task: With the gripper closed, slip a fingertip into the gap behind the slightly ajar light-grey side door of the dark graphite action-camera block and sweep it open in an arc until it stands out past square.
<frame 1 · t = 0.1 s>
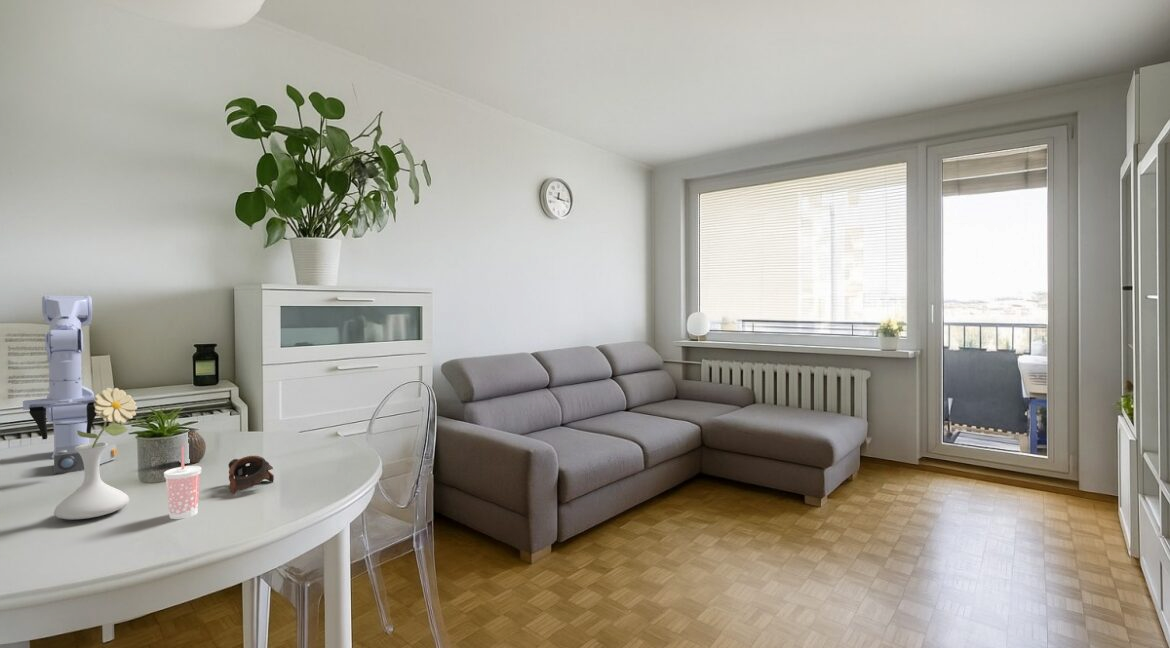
hand: (67, 436, 133), 10 cm above the table, tool pointing down, fingers open, 7 cm apart
flower in vase: (98, 513, 112), on the table
beverage cup: (183, 515, 111), on the table
side door: (104, 455, 145), point 2 cm above the table, hinge at 35.0°
camera body: (72, 467, 142), on the table
brown curved piece: (249, 488, 128), on the table
brown ribbed ovoid: (190, 463, 147), on the table
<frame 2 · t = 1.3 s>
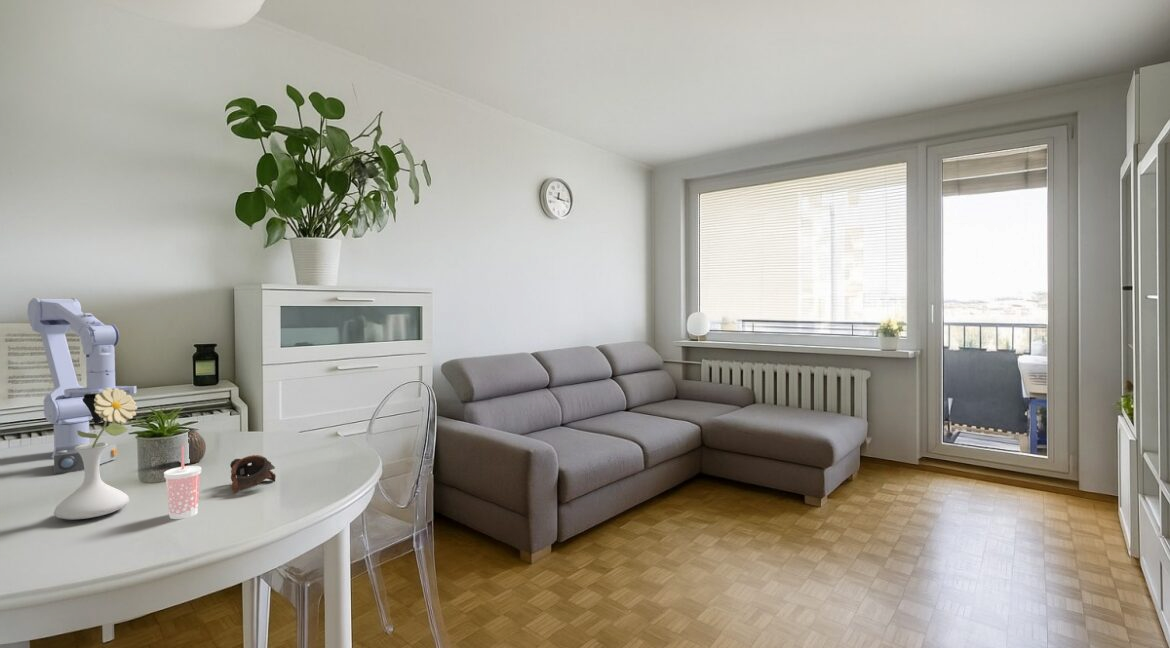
hand: (102, 422, 147), 10 cm above the table, tool pointing down, fingers closed
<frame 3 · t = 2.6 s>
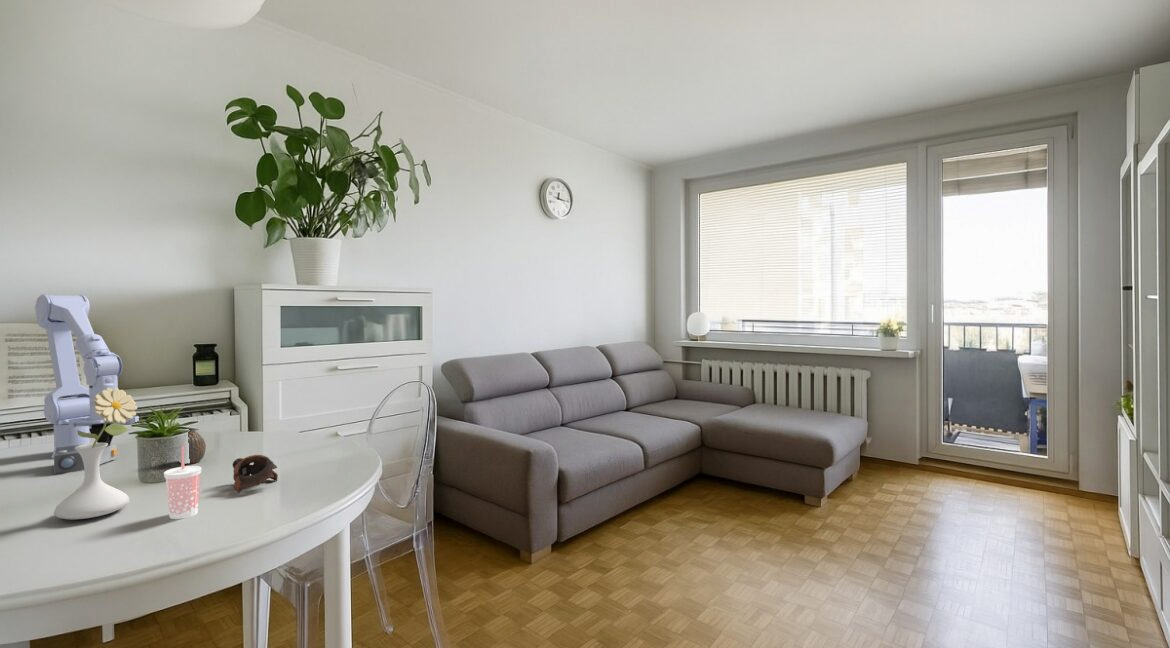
hand: (105, 452, 147), 2 cm above the table, tool pointing down, fingers closed, pressing on side door
side door: (104, 455, 145), point 2 cm above the table, hinge at 35.6°, touching gripper
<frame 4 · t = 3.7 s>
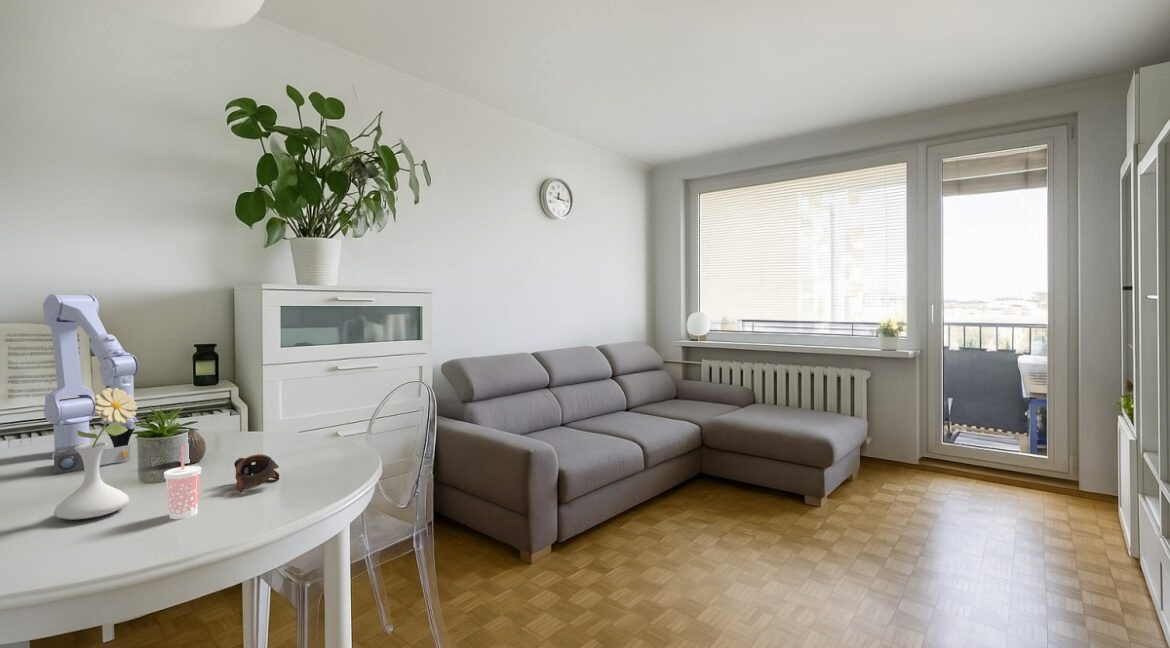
hand: (121, 452, 147), 2 cm above the table, tool pointing down, fingers closed, pressing on side door
side door: (110, 456, 144), point 2 cm above the table, hinge at 72.3°, touching gripper
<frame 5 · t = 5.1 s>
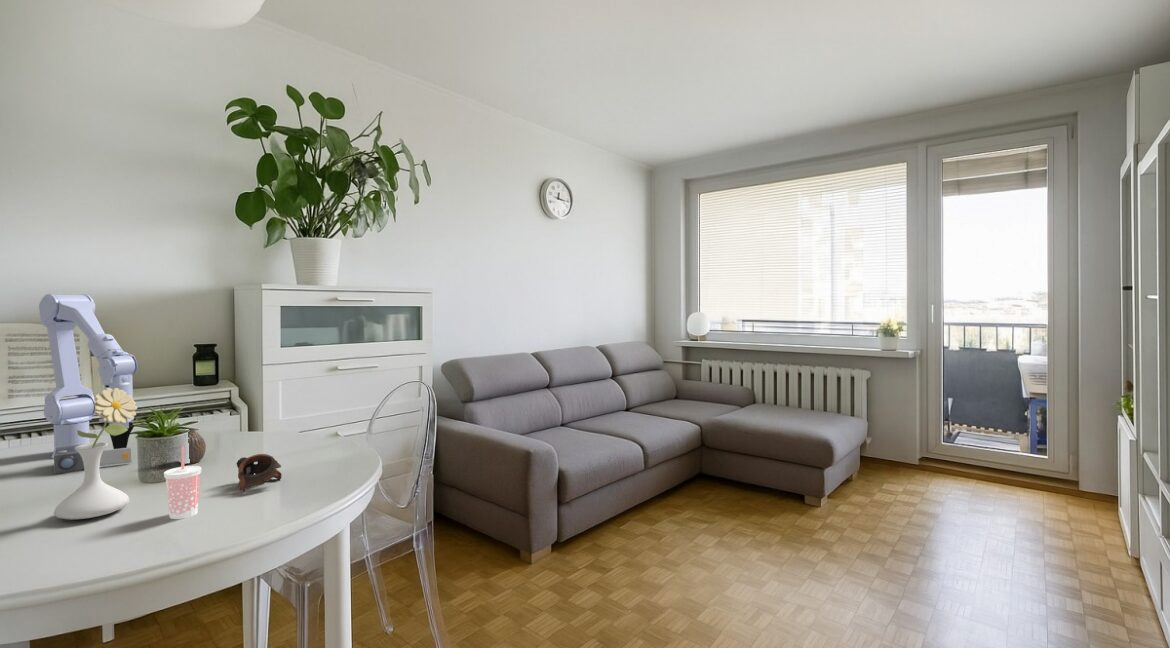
hand: (120, 451, 148), 2 cm above the table, tool pointing down, fingers closed
side door: (110, 457, 143), point 2 cm above the table, hinge at 97.5°
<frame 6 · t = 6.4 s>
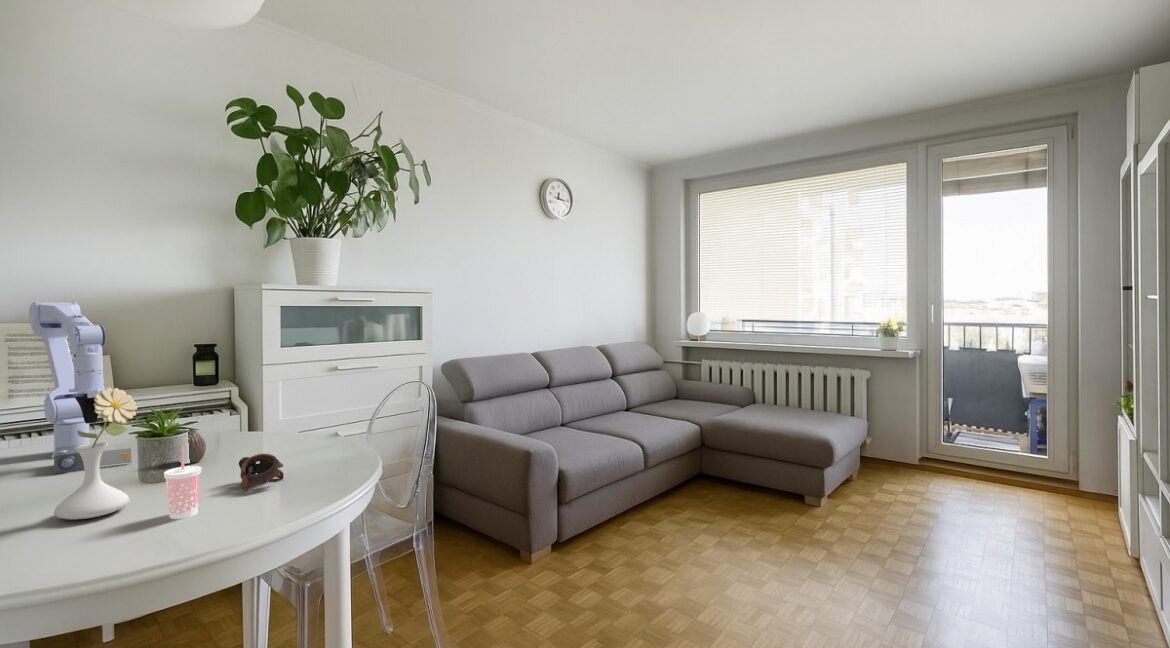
hand: (90, 422, 146), 10 cm above the table, tool pointing down, fingers closed
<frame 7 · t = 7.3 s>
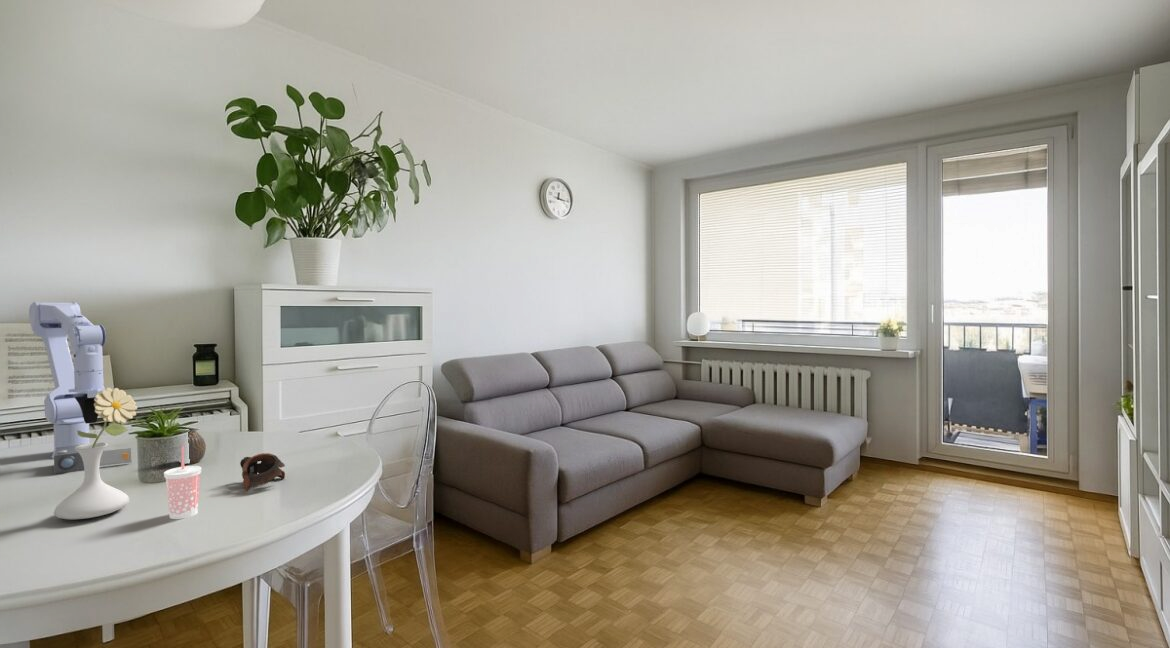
hand: (90, 422, 146), 10 cm above the table, tool pointing down, fingers closed
at the end: side door at +98° (first picture: +35°) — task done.
